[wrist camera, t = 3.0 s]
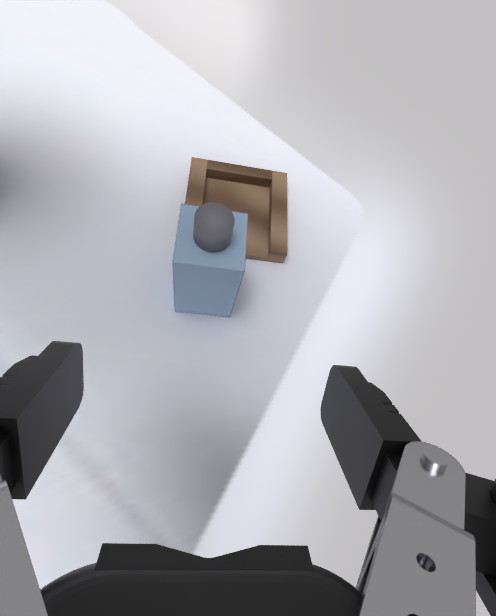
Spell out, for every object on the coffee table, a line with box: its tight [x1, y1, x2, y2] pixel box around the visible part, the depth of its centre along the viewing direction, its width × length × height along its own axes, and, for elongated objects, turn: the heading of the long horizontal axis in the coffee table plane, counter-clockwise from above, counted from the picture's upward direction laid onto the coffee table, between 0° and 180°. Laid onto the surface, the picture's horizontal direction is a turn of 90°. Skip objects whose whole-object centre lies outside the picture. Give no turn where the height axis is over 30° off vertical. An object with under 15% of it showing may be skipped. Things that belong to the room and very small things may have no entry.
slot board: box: [185, 157, 287, 263], centre depth 35 cm, size 10×10×2 cm
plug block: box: [173, 202, 248, 317], centre depth 27 cm, size 5×5×10 cm
